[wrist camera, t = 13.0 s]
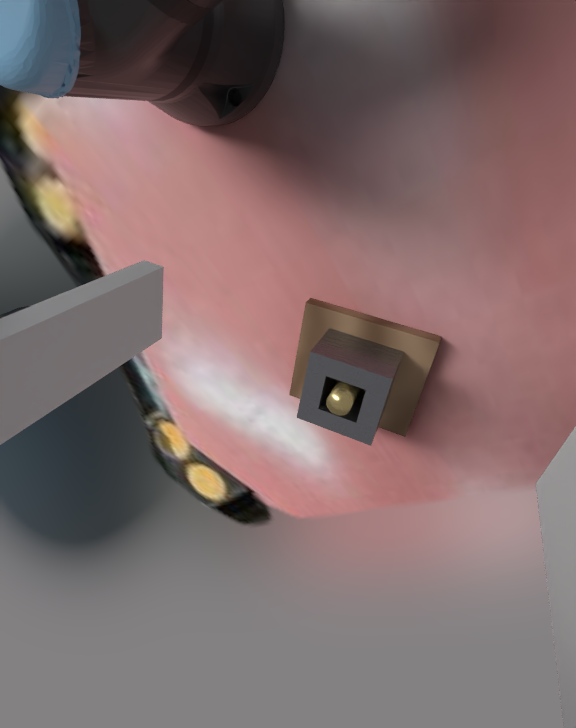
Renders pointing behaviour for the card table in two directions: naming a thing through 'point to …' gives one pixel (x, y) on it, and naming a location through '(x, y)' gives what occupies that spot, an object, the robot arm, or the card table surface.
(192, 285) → the card table surface
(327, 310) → the board
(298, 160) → the card table surface
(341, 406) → the keeper pin
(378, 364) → the grey hollow square block
